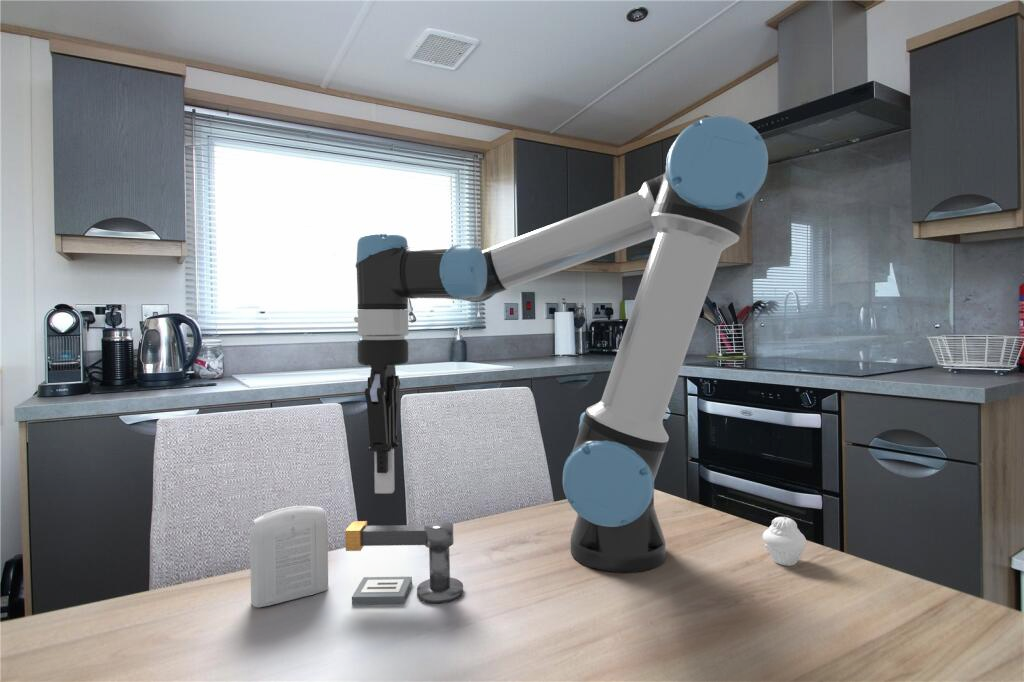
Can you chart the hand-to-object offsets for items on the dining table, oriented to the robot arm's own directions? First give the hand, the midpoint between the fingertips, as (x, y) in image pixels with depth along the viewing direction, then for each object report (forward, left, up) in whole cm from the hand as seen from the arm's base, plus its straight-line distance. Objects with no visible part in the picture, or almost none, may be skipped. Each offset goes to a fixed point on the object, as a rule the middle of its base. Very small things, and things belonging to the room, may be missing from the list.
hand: (384, 491), depth 88 cm
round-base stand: (-9, +8, -12) cm, 17 cm away
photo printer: (+11, +8, -12) cm, 19 cm away
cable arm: (-4, +8, -5) cm, 10 cm away
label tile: (-1, +8, -12) cm, 14 cm away
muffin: (-61, -1, -12) cm, 63 cm away
